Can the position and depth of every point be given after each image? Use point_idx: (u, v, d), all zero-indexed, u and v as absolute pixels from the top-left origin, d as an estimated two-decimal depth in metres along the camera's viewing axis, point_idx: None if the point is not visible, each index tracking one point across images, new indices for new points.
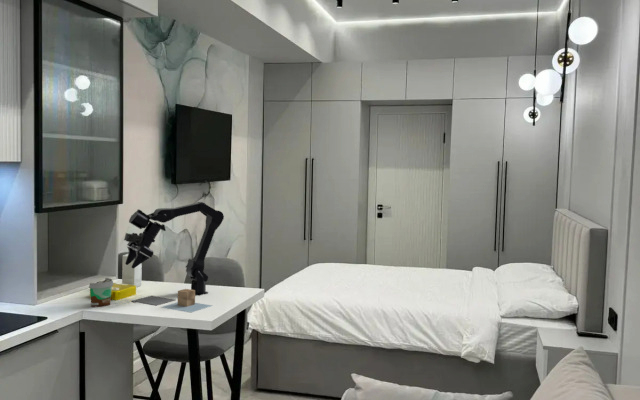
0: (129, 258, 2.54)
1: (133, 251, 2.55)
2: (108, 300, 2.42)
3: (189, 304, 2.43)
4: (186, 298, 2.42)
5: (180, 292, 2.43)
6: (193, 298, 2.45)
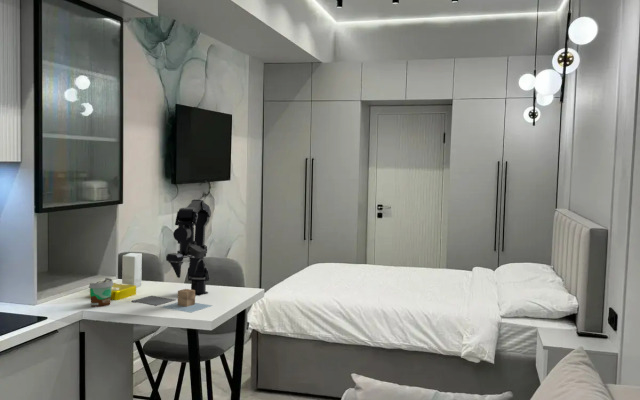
0: None
1: None
2: (108, 300, 2.42)
3: (189, 304, 2.43)
4: (186, 298, 2.42)
5: (180, 292, 2.43)
6: (193, 298, 2.45)
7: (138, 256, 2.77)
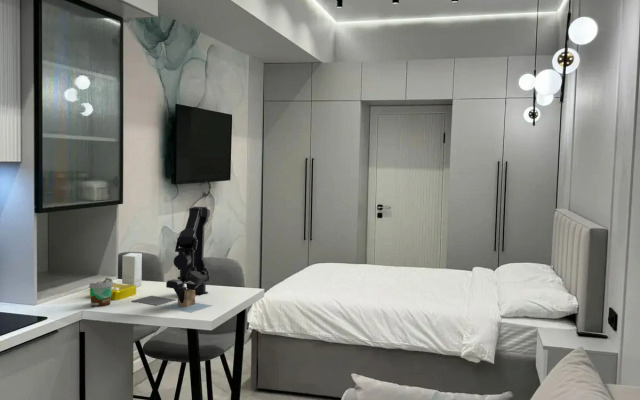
0: None
1: None
2: (108, 300, 2.42)
3: (189, 304, 2.43)
4: (186, 298, 2.42)
5: None
6: (193, 298, 2.45)
7: (138, 256, 2.77)
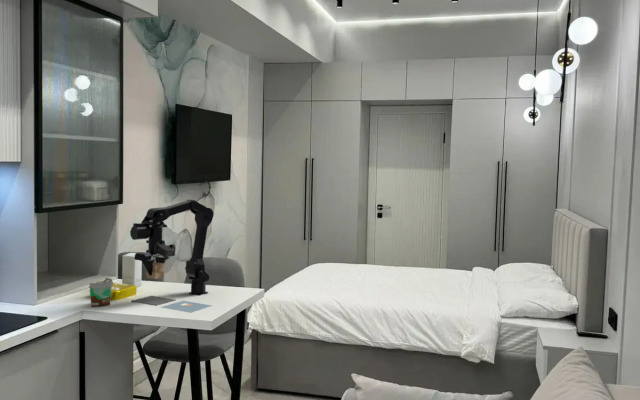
0: None
1: None
2: (108, 300, 2.42)
3: (157, 277, 2.48)
4: (154, 271, 2.47)
5: None
6: (162, 271, 2.50)
7: None
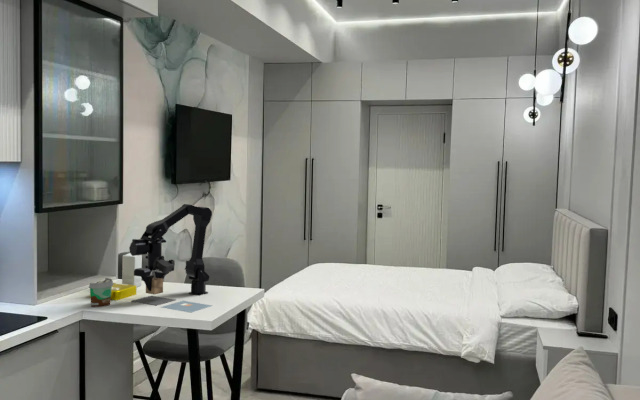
0: None
1: None
2: (108, 300, 2.42)
3: (157, 292, 2.49)
4: (154, 286, 2.47)
5: None
6: (161, 286, 2.51)
7: (138, 256, 2.77)
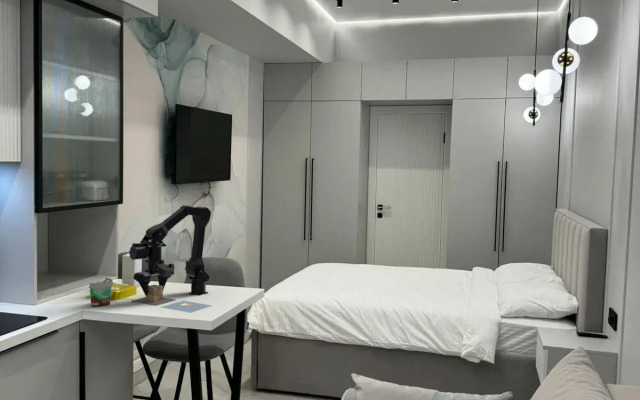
0: None
1: None
2: (108, 300, 2.42)
3: (156, 299, 2.49)
4: (153, 294, 2.48)
5: None
6: (161, 294, 2.51)
7: None
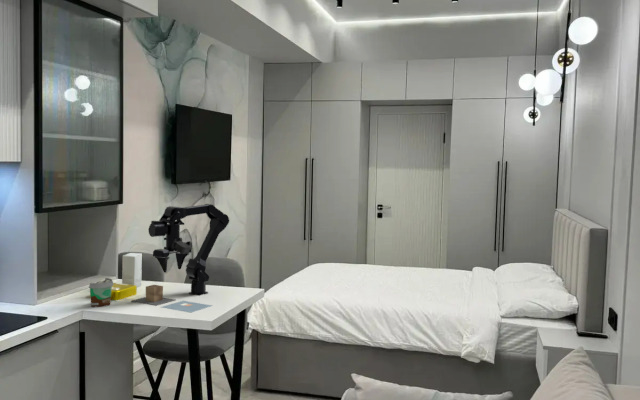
0: None
1: None
2: (108, 300, 2.42)
3: (156, 299, 2.49)
4: (153, 294, 2.48)
5: (148, 288, 2.49)
6: (161, 294, 2.51)
7: (138, 256, 2.77)
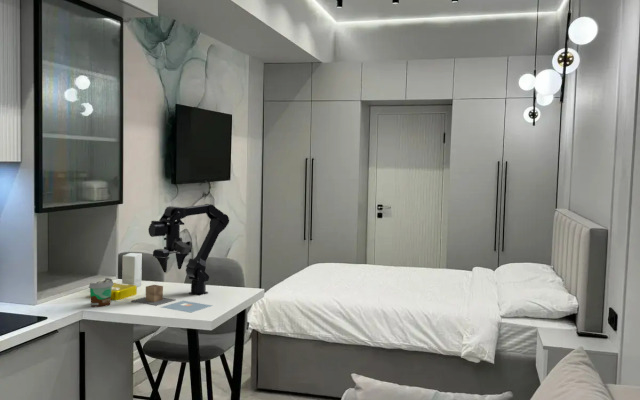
0: None
1: None
2: (108, 300, 2.42)
3: (156, 299, 2.49)
4: (153, 294, 2.48)
5: (148, 288, 2.49)
6: (161, 294, 2.51)
7: (138, 256, 2.77)
